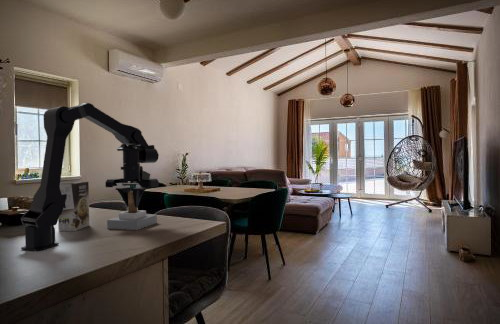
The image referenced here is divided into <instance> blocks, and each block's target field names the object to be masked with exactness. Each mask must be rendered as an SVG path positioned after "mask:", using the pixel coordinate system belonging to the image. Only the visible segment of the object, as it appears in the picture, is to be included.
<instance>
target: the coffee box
mask: <svg viewBox="0 0 500 324" xmlns="http://www.w3.org/2000/svg"><path fill="white" fill-rule="evenodd" d="M60 190H61V193H62V194H67V198H66V202H65V206H66V208H63V212H62V214H61V215H60V216H59V218H58V221H57V224H58V232H76V231H79V230H82V229H84V228H87V227H89V226H90V224H91V223H90V195H89V181H73V182H72V181H71V182H65V183H60Z"/></svg>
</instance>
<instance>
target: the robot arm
mask: <svg viewBox="0 0 500 324" xmlns="http://www.w3.org/2000/svg"><path fill="white" fill-rule="evenodd" d="M44 111H45V110H44ZM81 119H86V120H88V121H89V122H91V123H93V124H95V125H97V126H98V127H99V128H102V129H103V130H105V131H107V132H109V133H111V134H112V135H113V136H114V137H115V139H116V140H117V141H118V142H120V143H121V145H120V146H118V148H117V149H116V151H117V152H122V166H120V171H121V170H122V174H123V176H122V177H123V178H109V179H106V181H105V183H104V185H105V186H104V187H105V188H114V187H116V188H115V189H114V190H115V191H117V192H118V193H119V196H120V197H121V199H122V200H123V202H124V203H125V205H126V207H127V208H128V192H130V191H133V198H134V204H135V207H137V208H138V207H139V205H140V202H141V199H142V196H143V195H144V192H145V191H146V190H148V189H151V188H156V187H159V186H160V182H159V180H158V178H151V173H149V172H148V171H145V170H144V168H143V166H142V165H141V164H154V163H157V162H158V160H159V155H160V154H159V152H158V150H157V149H156V148H155V145H154V144H148V142H147V140H146V139H145V137H144V136H143V132H142V131H141V130H140V128H138V127H135V126H132V125H130V124H129V125H128V124H125V123H122V122H120V121H119V120H117V119H115V118H114V117H112V116H111V115H109V114H107V113H106V112H104V111H102V110H101V109H99V108H97V107H96V106H95V105H94V104H92V103H89V102H86V103H85V102H83V103H79V104H77V105H74V106H70V107H68V106H64V105H63V106H58V107H52V108H48V109H47V110H46V111H45V112H44V114H43V128H44V132H45V134H46V144H45V151H44V157H43V165H42V171H41V179H40V185H39V186H38V189H37V190H36V192H35V194H34V195H33V197H32V200H31V204H30V207H29V209H28V210H27V211H26V212H25V213H24V214H23V215H22V216H21V217H20V220H21V221H20V222H21V224H22V225H23V226H24V233H25V234H24V236H25V237H24V238H25V239H24V240H25V246H22V247H21V248H20V249H21V250H24V251H25V250H26V251H27V250H28V251H42V250H46V249H48V248H52V247H55V246H58V245H59V244H60V243H59V242H56V227H55V226H56V225H57V224H58V218H59V216H60V215H61V214H62V212H63V208H66V206H65V202H66V198H67V194H62V193H61V190H60V184H61V179H62V172H63V166H64V157H65V150H66V142H67V138H68V137H69V135H70V134H71V132H72V130H74V129H73V128H74V127H75V122H76V121H78V120H81ZM132 186H133V187H134V186H135V188H133V187H132Z"/></svg>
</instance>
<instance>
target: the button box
mask: <svg viewBox="0 0 500 324" xmlns="http://www.w3.org/2000/svg"><path fill="white" fill-rule="evenodd" d="M106 221H107V223H106V226H107V227H106V228H107V229H108V230H109V229H110V230H124V229H125V230H127V231H138V229H139V230H142V229H144V227H145V228H148V227H150V226H153V225H155V224H157V223H158V215H157V214H147V210H143V209H142V210H138V209H137V212H136V213H128V210H126V211H121V212H119V213H118V216H116V217H113V218H109V219H107V220H106ZM141 228H142V229H141Z"/></svg>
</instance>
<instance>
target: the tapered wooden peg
mask: <svg viewBox="0 0 500 324" xmlns="http://www.w3.org/2000/svg"><path fill="white" fill-rule="evenodd" d="M127 208H128V209H127V211H128V213H136V212H137V210H138V207H135V204H134V198H133V191H132V190H131V191H130V192H128V207H127Z"/></svg>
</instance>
